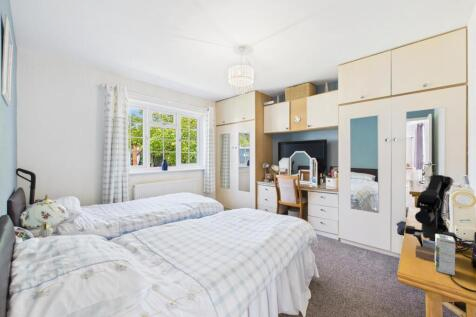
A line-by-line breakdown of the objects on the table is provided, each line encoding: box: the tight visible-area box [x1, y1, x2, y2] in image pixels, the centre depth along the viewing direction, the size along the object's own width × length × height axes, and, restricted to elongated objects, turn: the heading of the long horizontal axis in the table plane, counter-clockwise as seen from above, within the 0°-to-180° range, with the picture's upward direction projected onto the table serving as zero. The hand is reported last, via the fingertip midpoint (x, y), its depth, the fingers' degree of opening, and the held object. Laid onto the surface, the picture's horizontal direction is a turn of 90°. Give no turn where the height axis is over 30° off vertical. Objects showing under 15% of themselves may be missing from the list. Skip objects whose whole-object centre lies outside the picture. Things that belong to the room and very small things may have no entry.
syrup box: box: [434, 234, 456, 276], centre depth 88 cm, size 6×6×14 cm
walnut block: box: [415, 245, 435, 263], centre depth 100 cm, size 7×7×4 cm
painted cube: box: [422, 239, 435, 249], centre depth 103 cm, size 5×5×5 cm
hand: (429, 250), depth 103 cm, fingers closed on painted cube, 5 cm apart
